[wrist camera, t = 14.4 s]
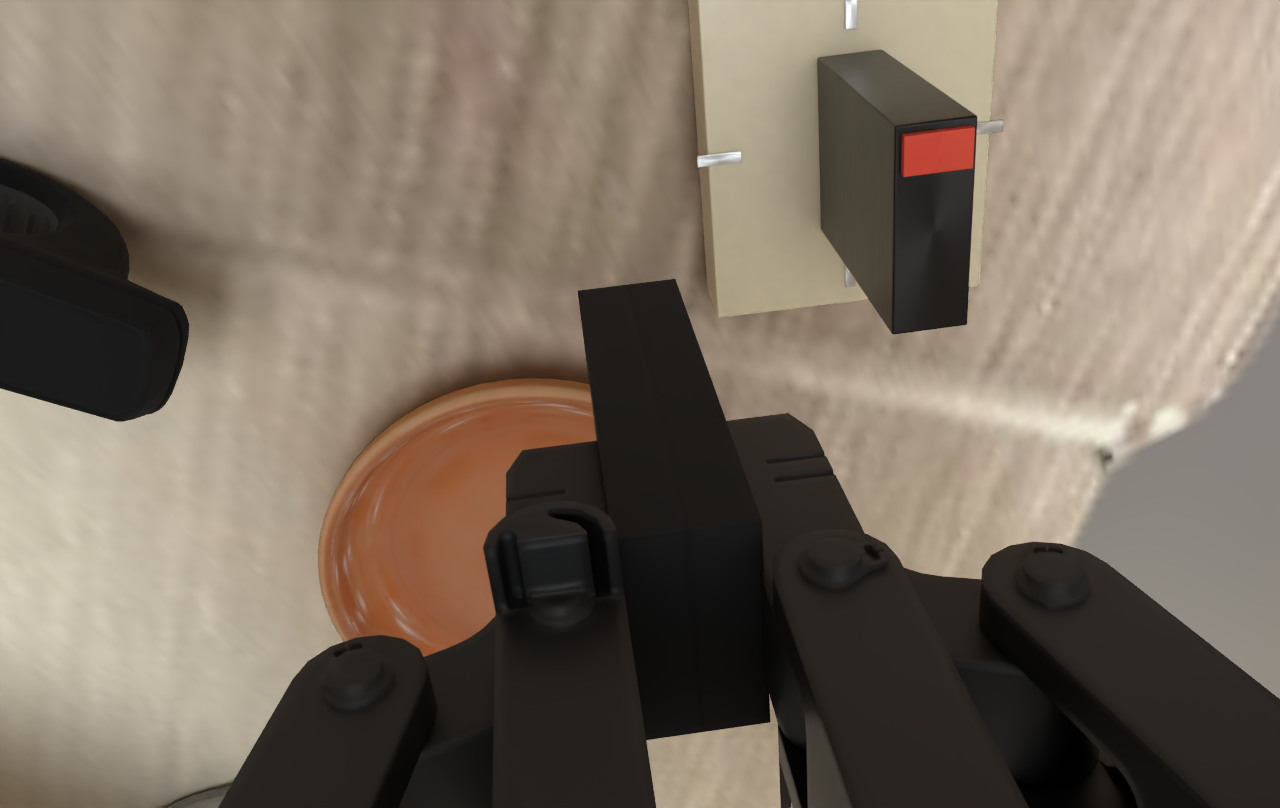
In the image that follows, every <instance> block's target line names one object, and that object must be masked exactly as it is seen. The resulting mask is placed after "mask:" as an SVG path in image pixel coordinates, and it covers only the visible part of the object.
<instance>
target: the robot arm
mask: <svg viewBox="0 0 1280 808" xmlns="http://www.w3.org/2000/svg"><path fill="white" fill-rule="evenodd" d="M578 297H579V305H580V313H581V321H582V329H583V337H584V345H585V353H586V361H587V369H588V377H589V385H590V393H591V401H592V409H593V417H594V425H595V433H596V441H590V442H582V443H574V444H566V445H558V446H551V447H543V448H535V449H527V450H522V451H521V453H520V454H519V455H518V457H517V458H516V460H515V461H514V463H513V464H512V465H511V467H510V468H509V470H508V471H507V473H506V517H504V518H502V519H501V520H500V521H499V522H498V523H497V524H496V525H495V526H494V527H493V528H492V529H491V530H490V531H489V532H488V535H487V538H486V540H485V543H484V546H483V550H484V556H485V561H486V566H487V571H488V576H489V581H490V586H491V592H492V597H493V602H494V607H495V612H496V615H495V617H494V618H493V619H492V620H491V621H490V622H489V623H488V624H487V625H486V626H485V627H484V628H483V629H481V630H480V631H479V632H477V633H476V634H474V635H473V636H471V637H470V638H468V639H466V640H464V641H462V642H460V643H458V644H456V645H454V646H451V647H449V648H446V649H444V650H441V651H438V652H436V653H433V654H430V655H428V656H425V657H423V655H422V653H421V651H420V649H419V648H417V647H416V646H414V645H413V644H411V643H410V642H408V641H406V640H405V639H402V638H397V637H391V636H385V635H375V636H366V637H357V638H353V639H351V640H348V641H345V642H342V643H340V644H337V645H334V646H331V647H329V648H328V649H326V650H325V651H323V652H322V653H320V654H319V655H317V656H316V657H314V658H313V659H311V660H309V661H308V662H307V663H306V665H305V666H304V667H303V668H302V669H301V670H300V672H299V673H298V674H297V675H296V676H295V677H294V679H293V680H292V682H291V683H290V685H289V687H288V689H287V690H286V692H285V694H284V695H283V697H282V699H281V701H280V702H279V704H278V706H277V707H276V709H275V711H274V713H273V714H272V716H271V718H270V719H269V721H268V723H267V725H266V726H265V728H264V730H263V731H262V733H261V735H260V737H259V738H258V740H257V742H256V743H255V745H254V747H253V749H252V750H251V752H250V754H249V755H248V757H247V759H246V761H245V762H244V764H243V766H242V767H241V769H240V771H239V773H238V774H237V776H236V778H235V779H234V781H233V783H232V785H231V786H229V787H224V788H218V789H214V790H210V791H206V792H202V793H199V794H196V795H193V796H190V797H188V798H185V799H183V800H180V801H178V802H176V803H174V804H172V805H170V806H168V807H166V808H656V803H655V797H654V790H653V783H652V776H651V770H650V763H649V756H648V750H647V743H646V740H649V739H656V738H663V737H670V736H677V735H684V734H691V733H698V732H705V731H712V730H719V729H726V728H733V727H740V726H747V725H754V724H761V723H768V722H770V704H769V694H770V698H771V701H772V704H773V708H774V711H775V714H776V718H777V721H778V739H779V766H780V794H781V808H791V802H792V806H793V808H1280V699H1279V698H1277V697H1276V696H1275V695H1274V694H1272V693H1271V692H1270V691H1269V690H1267V689H1266V688H1265V687H1263V686H1262V685H1261V684H1260V683H1258V682H1257V681H1256V680H1255V679H1253V678H1252V677H1251V676H1249V675H1248V674H1247V673H1246V672H1244V671H1243V670H1242V669H1241V668H1239V667H1238V666H1237V665H1236V664H1234V663H1233V662H1232V661H1230V660H1229V659H1228V658H1227V657H1225V656H1224V655H1223V654H1221V653H1220V652H1219V651H1218V650H1216V649H1215V648H1214V647H1213V646H1211V645H1210V644H1209V643H1208V642H1206V641H1205V640H1204V639H1203V638H1201V637H1200V636H1199V635H1197V634H1196V633H1195V632H1194V631H1192V630H1191V629H1190V628H1189V627H1187V626H1186V625H1184V624H1183V623H1182V622H1181V621H1179V620H1178V619H1177V618H1176V617H1175V616H1173V615H1172V614H1171V613H1169V612H1168V611H1167V610H1166V609H1164V608H1163V607H1162V606H1161V605H1159V604H1158V603H1157V602H1156V601H1154V600H1153V599H1152V598H1150V597H1149V596H1148V595H1147V594H1145V593H1144V592H1143V591H1141V590H1140V589H1139V588H1137V586H1135V585H1134V584H1133V583H1131V582H1130V581H1129V580H1128V579H1126V578H1125V577H1124V576H1122V575H1121V574H1120V573H1118V572H1117V571H1116V570H1115V569H1114V568H1112V567H1111V566H1110V565H1109V564H1107V563H1106V562H1104V561H1102V560H1100V559H1099V558H1097V557H1095V556H1093V555H1092V554H1090V553H1088V552H1086V551H1083V550H1080V549H1076V548H1073V547H1070V546H1066V545H1063V544H1057V543H1043V542H1030V543H1024V544H1017V545H1011V546H1008V547H1006V548H1004V549H1003V550H1001V551H999V552H997V553H995V554H993V555H991V557H990V558H989V560H988V561H987V562H986V564H985V565H984V567H983V568H982V579H981V580H980V579H967V578H955V577H942V576H935V575H929V574H922V573H919V572H916V571H912V570H909V569H906V568H903V566H902V564H901V562H900V560H899V558H898V557H897V556H896V555H895V554H894V552H893V551H892V550H891V549H890V548H889V547H888V546H887V545H886V544H885V543H883V542H881V541H879V540H877V539H875V538H873V537H871V536H869V535H868V534H865V533H864V531H863V529H862V527H861V525H860V523H859V521H858V519H857V517H856V515H855V513H854V511H853V509H852V507H851V505H850V503H849V501H848V499H847V497H846V495H845V493H844V491H843V489H842V487H841V485H840V483H839V481H838V479H837V477H836V475H834V474H833V469H832V467H831V465H830V463H829V461H828V459H827V457H825V456H824V451H823V449H822V447H821V445H820V443H819V441H818V439H817V437H816V435H815V433H814V431H813V430H812V429H810V428H809V427H807V426H806V425H805V424H803V423H802V422H800V421H799V420H797V419H796V418H794V417H793V416H791V415H790V414H789V413H786V414H778V415H770V416H762V417H755V418H747V419H739V420H731V421H726V419H725V417H724V414H723V411H722V408H721V405H720V403H719V400H718V397H717V394H716V392H715V389H714V386H713V383H712V380H711V378H710V375H709V372H708V369H707V366H706V364H705V361H704V358H703V355H702V353H701V350H700V347H699V344H698V341H697V339H696V336H695V333H694V330H693V327H692V325H691V322H690V319H689V316H688V314H687V311H686V308H685V305H684V302H683V300H682V297H681V294H680V291H679V289H678V286H677V283H676V280H675V279H671V280H663V281H654V282H646V283H638V284H630V285H622V286H613V287H605V288H597V289H589V290H581V291H578Z"/></svg>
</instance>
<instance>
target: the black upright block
mask: <svg viewBox="0 0 1280 808" xmlns="http://www.w3.org/2000/svg"><path fill="white" fill-rule="evenodd" d="M817 68H818V115H819V162H820V209H821V230H822V232H823V233H824V235H825V236H826V237H827V239H828V240H829V242H830V243H831V245H832V246H833V248H834V249H835V251H836V252H837V254H838V255H839V257H840V258H841V259H842V261H843V262H844V264H845V265H846V267H847V268H848V270H849V271H850V273H851V274H852V276H853V277H854V278H855V280H856V281H857V283H858V284H859V286H860V287H861V289H862V290H863V292H864V293H865V295H866V296H867V298H868V299H869V300H870V302H871V303H872V305H873V306H874V308H875V309H876V311H877V312H878V314H879V315H880V317H881V318H882V319H883V321H884V322H885V324H886V325H887V327H888V328H889V330H890V331H891V333H892V334H900V333H907V332H915V331H922V330H930V329H937V328H945V327H952V326H960V325H966V324H967V312H968V292H969V273H970V253H971V234H972V215H973V195H974V176H975V156H976V137H977V115H975V114H974V113H972V112H971V111H969V110H968V109H967V108H965V107H964V106H962V105H961V104H959V103H958V102H957V101H955V100H954V99H952V98H951V97H949V96H948V95H946V94H945V93H944V92H942V91H941V90H939V89H938V88H936V87H935V86H934V85H932V84H931V83H929V82H928V81H926V80H925V79H924V78H922V77H921V76H919V75H918V74H916V73H915V72H913V71H912V70H911V69H909V68H908V67H906V66H905V65H903V64H902V63H901V62H899V61H898V60H896V59H895V58H893V57H892V56H890V55H889V54H888V53H886V52H885V51H883V50H873V51H865V52H857V53H849V54H841V55H833V56H825V57H819V58H818V59H817Z"/></svg>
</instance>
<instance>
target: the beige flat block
mask: <svg viewBox="0 0 1280 808" xmlns="http://www.w3.org/2000/svg"><path fill="white" fill-rule="evenodd" d="M688 10H689V24H690V39H691V54H692V68H693V83H694V98H695V112H696V127H697V142H698V155H696V158H697V167H698V168H699V171H700V186H701V200H702V215H703V230H704V244H705V259H706V274H707V288H708V292H709V294H710V297H711V300H712V302H713V305H714V308H715V311H716V313H717V316H718V318H723V317H731V316H739V315H747V314H755V313H764V312H772V311H780V310H788V309H796V308H804V307H812V306H820V305H828V304H837V303H845V302H853V301H861V300H869V299H868V298H867V296H866V295H865V293H864V292H863V290H862V289H861V287H860V286H859V284H858V283H857V281H856V280H855V278H854V277H853V276H852V274H851V273H850V271H849V270H848V268H847V267H846V265H845V264H844V262H843V261H842V259H841V258H840V257H839V255H838V254H837V252H836V251H835V249H834V248H833V246H832V245H831V243H830V242H829V240H828V239H827V237H826V236H825V235H824V233H823V232H822V230H821V209H820V162H819V115H818V68H817V59H818V58H819V57H825V56H833V55H841V54H849V53H857V52H865V51H873V50H883V51H885V52H886V53H888V54H889V55H890V56H892V57H893V58H895V59H896V60H898V61H899V62H901V63H902V64H903V65H905V66H906V67H908V68H909V69H911V70H912V71H913V72H915V73H916V74H918V75H919V76H921V77H922V78H924V79H925V80H926V81H928V82H929V83H931V84H932V85H934V86H935V87H936V88H938V89H939V90H941V91H942V92H944V93H945V94H946V95H948V96H949V97H951V98H952V99H954V100H955V101H957V102H958V103H959V104H961V105H962V106H964V107H965V108H967V109H968V110H969V111H971V112H972V113H974V114H975V115H977V137H976V156H975V176H974V195H973V215H972V234H971V253H970V273H969V287H975V286H979V284H980V269H981V254H982V239H983V223H984V208H985V193H986V178H987V163H988V148H989V133H994V132H1002V131H1003V125H1004V120H1003V119H998V120H990V118H991V103H992V88H993V73H994V58H995V43H996V28H997V12H998V0H688Z"/></svg>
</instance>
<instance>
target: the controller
mask: <svg viewBox="0 0 1280 808" xmlns="http://www.w3.org/2000/svg"><path fill="white" fill-rule="evenodd" d="M128 274H129V254H128V250H127V246H126V243H125V241H124V240H123V238H122V236H121V234H120V232H119V230H118V229H117V227H116V226H115V225H114V224H113V223H112V222H111V221H110V220H109V218H108V217H107V216H106V215H105V214H103V213H102V212H101V211H100V210H99V209H98V208H97V207H95V206H94V205H92V204H91V203H90V202H88V201H87V200H86V199H84V198H83V197H81V196H80V195H79V194H77V193H76V192H74V191H73V190H71V189H69V188H67V187H65V186H63V185H62V184H60V183H58V182H56V181H54V180H52V179H50V178H48V177H46V176H45V175H43V174H40V173H37V172H35V171H32V170H30V169H27V168H25V167H22V166H19V165H17V164H14V163H12V162H9V161H6V160H3V159H0V388H1V389H5V390H8V391H12V392H15V393H19V394H22V395H26V396H29V397H33V398H36V399H40V400H43V401H47V402H50V403H54V404H57V405H61V406H64V407H68V408H71V409H75V410H78V411H82V412H86V413H89V414H93V415H96V416H100V417H103V418H107V419H110V420H114V421H127V420H131V419H135V418H138V417H141V416H144V415H146V414H152V413H154V412H156V411H158V410H160V409H161V408H162V407H163V406H164V405H165V404H166V402H167V401H168V399H169V397H170V396H171V394H172V392H173V389H174V387H175V384H176V381H177V379H178V376H179V373H180V371H181V368H182V365H183V361H184V356H185V351H186V346H187V342H188V336H189V323H188V319H187V316H186V314H185V312H184V309H183V307H182V306H181V305H180V304H179V303H177V302H175V301H173V300H170V299H168V298H165V297H163V296H161V295H159V294H157V293H154V292H152V291H150V290H148V289H146V288H143V287H141V286H139V285H137V284H135V283H133V282H130V281H129V280H127V279H128Z"/></svg>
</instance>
